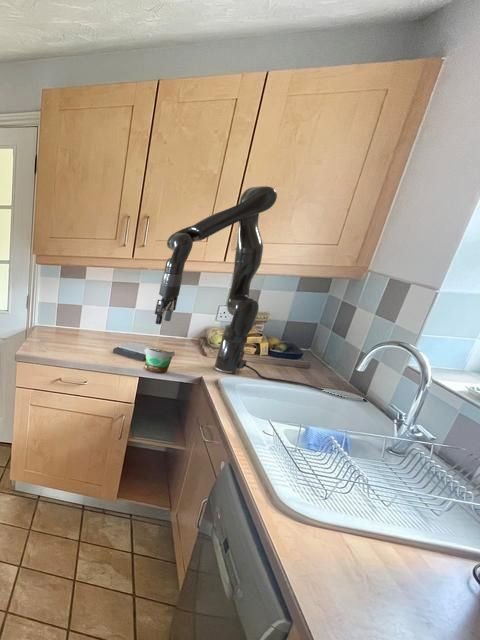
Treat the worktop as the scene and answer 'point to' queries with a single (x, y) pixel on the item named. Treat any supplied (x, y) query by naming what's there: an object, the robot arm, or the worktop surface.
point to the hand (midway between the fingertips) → (162, 322)
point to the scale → (132, 351)
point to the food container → (158, 360)
